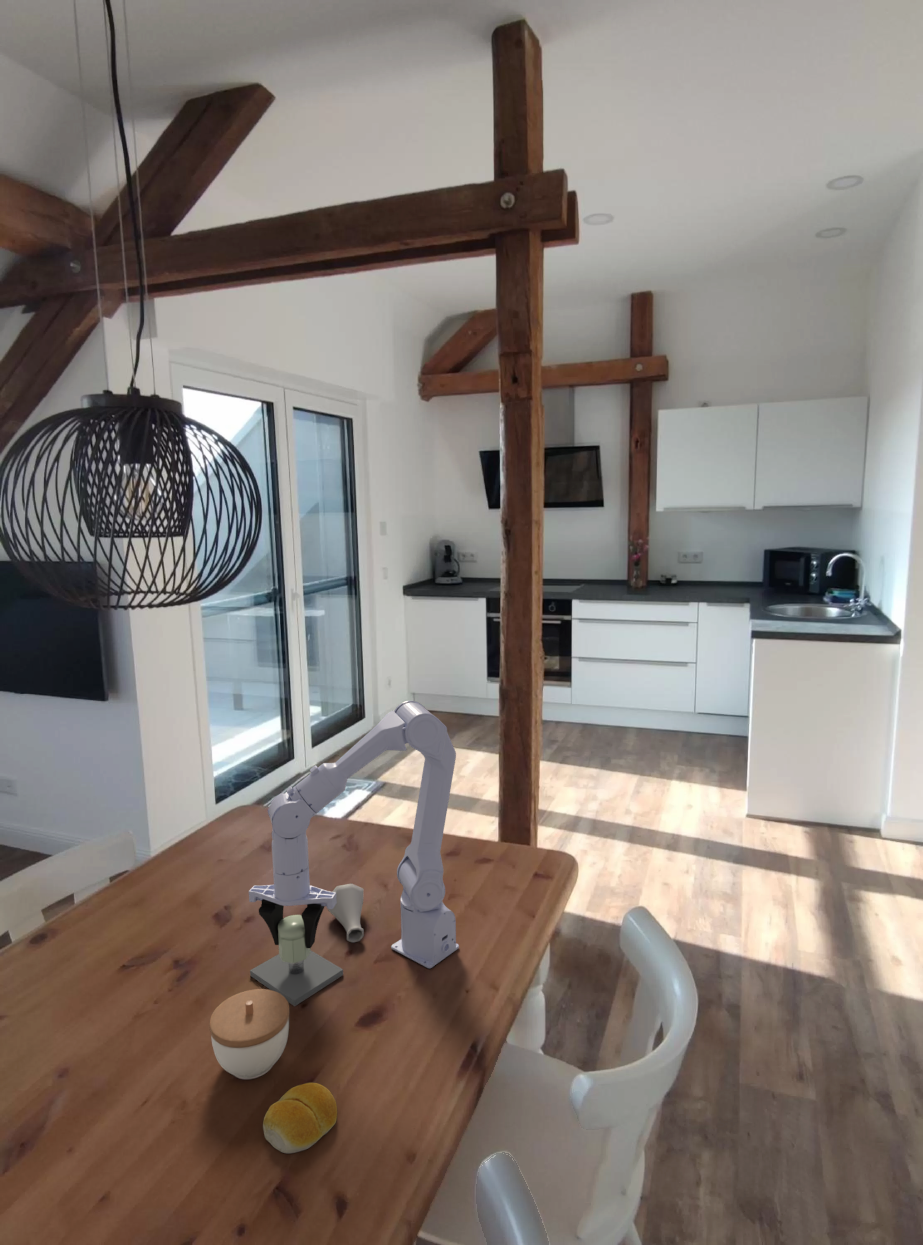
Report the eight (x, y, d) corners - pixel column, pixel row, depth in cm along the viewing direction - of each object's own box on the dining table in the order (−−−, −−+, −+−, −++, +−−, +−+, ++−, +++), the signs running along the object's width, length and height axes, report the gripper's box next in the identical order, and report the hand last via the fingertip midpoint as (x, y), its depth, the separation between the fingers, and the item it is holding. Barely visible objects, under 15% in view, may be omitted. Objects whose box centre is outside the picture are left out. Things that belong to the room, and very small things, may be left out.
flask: (369, 884, 139) (380, 920, 130) (357, 915, 141) (367, 953, 132) (333, 880, 136) (342, 917, 127) (321, 912, 138) (330, 950, 129)
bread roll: (349, 1116, 93) (348, 1088, 93) (296, 1167, 86) (294, 1138, 85) (305, 1087, 98) (304, 1060, 97) (251, 1133, 91) (249, 1105, 90)
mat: (343, 974, 121) (343, 969, 121) (294, 1006, 114) (294, 1000, 113) (298, 948, 129) (298, 942, 129) (250, 975, 121) (250, 970, 121)
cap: (315, 946, 122) (313, 917, 121) (301, 965, 117) (300, 934, 117) (288, 942, 123) (286, 913, 123) (274, 960, 119) (272, 930, 118)
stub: (307, 969, 121) (306, 950, 121) (295, 976, 119) (294, 957, 119) (297, 963, 123) (296, 944, 122) (285, 970, 121) (284, 951, 120)
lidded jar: (307, 1052, 104) (304, 993, 103) (251, 1105, 95) (247, 1040, 93) (254, 1026, 109) (250, 969, 108) (196, 1073, 100) (191, 1012, 99)
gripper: (341, 858, 121) (344, 933, 123) (260, 852, 123) (264, 925, 125) (326, 879, 114) (330, 958, 116) (240, 872, 116) (245, 949, 119)
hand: (294, 943), depth 120 cm, fingers closed on cap, 5 cm apart
